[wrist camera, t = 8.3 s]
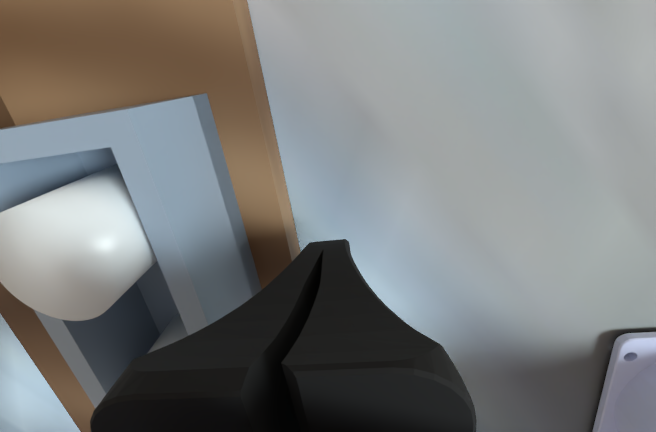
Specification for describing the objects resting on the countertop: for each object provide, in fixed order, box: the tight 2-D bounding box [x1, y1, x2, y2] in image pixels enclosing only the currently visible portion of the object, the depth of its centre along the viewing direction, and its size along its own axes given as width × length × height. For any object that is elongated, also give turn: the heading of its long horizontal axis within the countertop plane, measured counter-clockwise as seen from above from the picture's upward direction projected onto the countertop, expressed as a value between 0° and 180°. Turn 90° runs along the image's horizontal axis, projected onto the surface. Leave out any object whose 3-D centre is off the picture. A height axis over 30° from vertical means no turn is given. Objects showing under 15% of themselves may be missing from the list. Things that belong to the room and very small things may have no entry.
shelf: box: [0, 0, 301, 432], centre depth 13 cm, size 22×10×4 cm, turn 9°
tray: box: [0, 93, 262, 409], centre depth 11 cm, size 12×5×5 cm, turn 9°
